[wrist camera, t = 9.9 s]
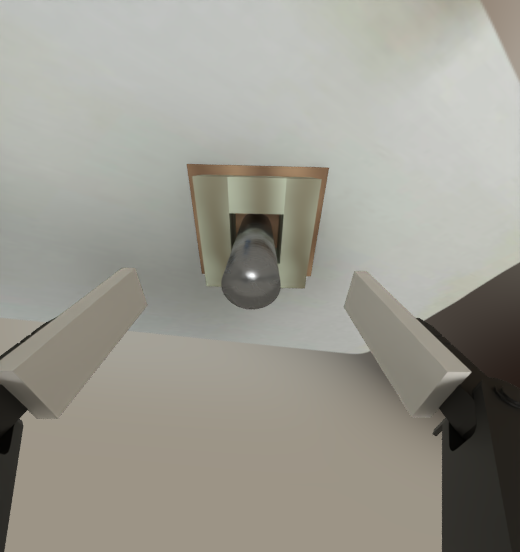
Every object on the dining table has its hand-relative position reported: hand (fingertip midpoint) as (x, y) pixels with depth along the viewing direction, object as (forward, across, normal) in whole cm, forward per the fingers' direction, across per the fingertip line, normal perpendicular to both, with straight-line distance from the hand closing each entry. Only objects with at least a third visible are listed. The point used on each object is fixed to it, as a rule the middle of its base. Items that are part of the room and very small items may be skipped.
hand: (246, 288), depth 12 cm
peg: (+15, 0, 0) cm, 15 cm away
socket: (+16, +1, 0) cm, 16 cm away
